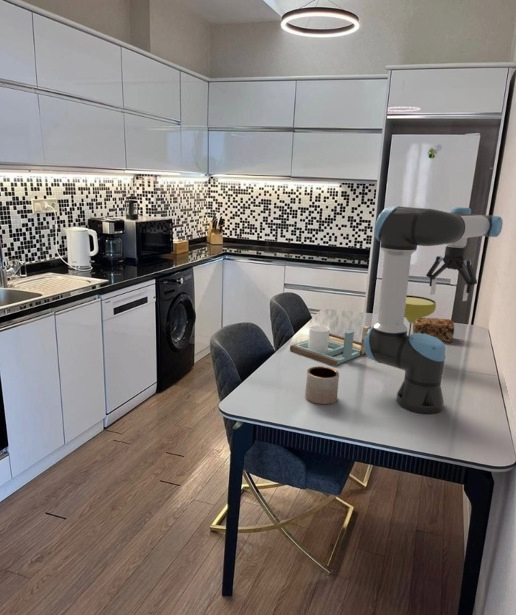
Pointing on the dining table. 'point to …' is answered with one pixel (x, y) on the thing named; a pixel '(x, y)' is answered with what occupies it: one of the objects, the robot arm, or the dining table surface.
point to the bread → (435, 328)
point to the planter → (322, 385)
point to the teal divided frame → (338, 348)
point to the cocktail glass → (418, 308)
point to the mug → (318, 339)
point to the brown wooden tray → (318, 356)
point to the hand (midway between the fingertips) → (448, 297)
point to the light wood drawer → (361, 347)
